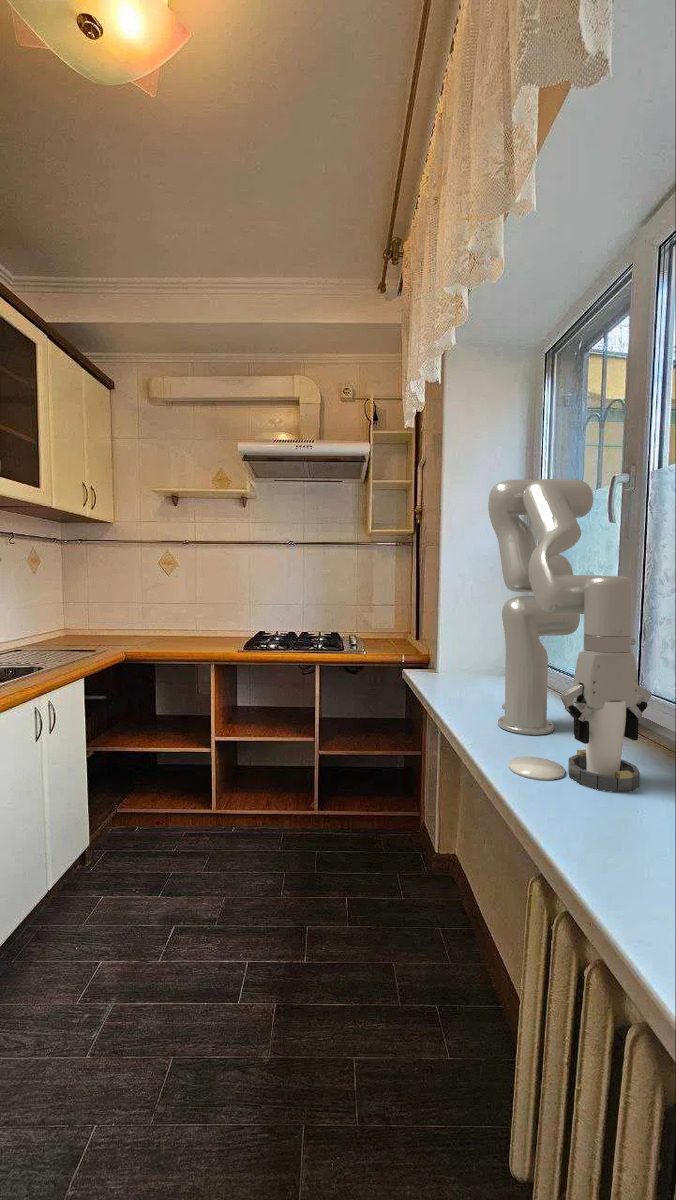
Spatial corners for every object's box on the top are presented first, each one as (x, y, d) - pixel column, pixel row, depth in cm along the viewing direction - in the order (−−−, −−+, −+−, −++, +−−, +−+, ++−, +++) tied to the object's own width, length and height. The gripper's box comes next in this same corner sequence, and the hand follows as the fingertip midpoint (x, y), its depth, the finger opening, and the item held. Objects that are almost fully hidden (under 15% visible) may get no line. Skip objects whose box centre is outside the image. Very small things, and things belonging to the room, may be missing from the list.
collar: (555, 768, 97) (555, 751, 96) (608, 764, 98) (608, 747, 98) (596, 795, 85) (596, 776, 85) (654, 790, 87) (655, 771, 87)
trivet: (499, 761, 100) (499, 758, 100) (545, 758, 102) (545, 755, 102) (525, 782, 90) (526, 779, 90) (576, 778, 92) (576, 775, 92)
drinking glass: (573, 776, 93) (575, 695, 92) (596, 768, 96) (598, 691, 95) (609, 789, 87) (611, 704, 86) (632, 781, 90) (634, 699, 90)
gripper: (634, 641, 95) (633, 731, 96) (550, 643, 92) (549, 736, 93) (666, 646, 88) (665, 743, 88) (576, 649, 85) (575, 749, 86)
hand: (605, 739), depth 91 cm, fingers open, 9 cm apart
